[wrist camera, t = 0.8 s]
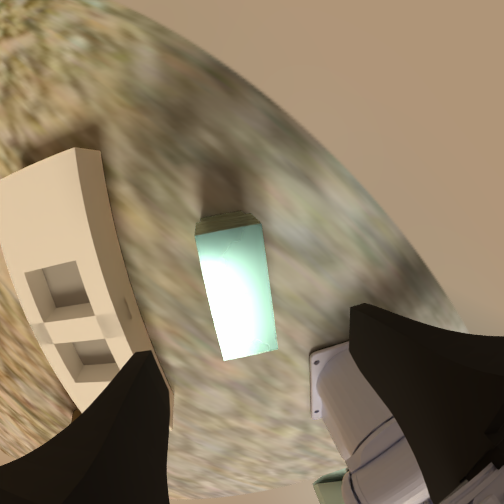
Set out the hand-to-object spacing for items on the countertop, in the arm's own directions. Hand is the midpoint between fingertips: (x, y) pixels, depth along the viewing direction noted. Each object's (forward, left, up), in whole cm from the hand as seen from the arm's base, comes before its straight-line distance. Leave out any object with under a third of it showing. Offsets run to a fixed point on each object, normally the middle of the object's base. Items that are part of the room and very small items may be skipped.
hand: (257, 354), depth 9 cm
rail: (-1, +11, -10) cm, 14 cm away
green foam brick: (0, 0, -10) cm, 10 cm away
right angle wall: (-39, -14, -11) cm, 43 cm away
